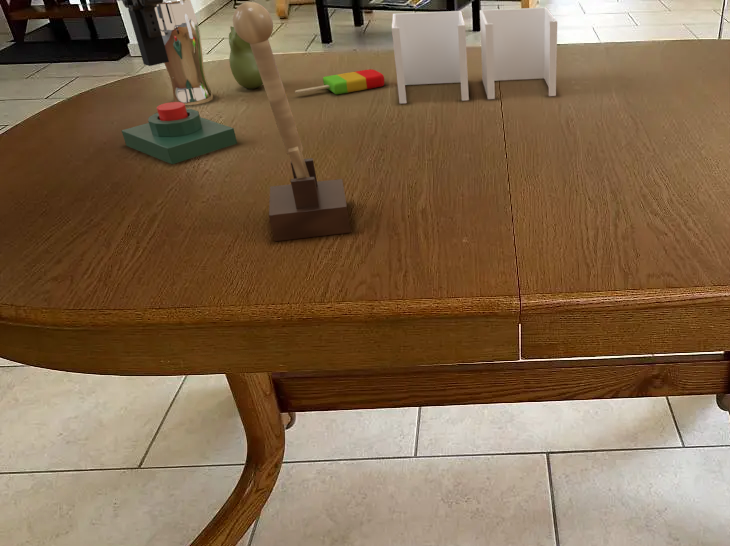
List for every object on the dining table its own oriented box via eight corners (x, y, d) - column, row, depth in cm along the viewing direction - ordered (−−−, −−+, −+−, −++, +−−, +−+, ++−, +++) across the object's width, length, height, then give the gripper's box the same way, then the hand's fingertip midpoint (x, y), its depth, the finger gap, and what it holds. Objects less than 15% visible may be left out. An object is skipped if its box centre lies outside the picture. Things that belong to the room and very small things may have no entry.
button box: (126, 146, 104) (116, 117, 101) (190, 127, 110) (182, 99, 107) (172, 164, 97) (163, 134, 95) (237, 143, 103) (230, 114, 101)
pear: (259, 81, 129) (246, 18, 123) (275, 87, 126) (263, 23, 120) (230, 88, 126) (215, 24, 120) (246, 94, 123) (231, 29, 117)
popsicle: (387, 86, 125) (386, 74, 124) (301, 101, 119) (299, 89, 118) (374, 79, 129) (373, 67, 128) (290, 93, 123) (288, 81, 122)
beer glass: (194, 92, 124) (167, -8, 115) (225, 96, 122) (200, -5, 113) (162, 103, 119) (131, 0, 110) (194, 108, 117) (165, 3, 108)
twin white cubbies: (545, 77, 128) (546, 7, 121) (555, 95, 119) (557, 21, 112) (400, 84, 126) (392, 13, 119) (399, 103, 117) (391, 28, 110)
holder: (274, 241, 79) (262, 187, 75) (275, 211, 85) (264, 160, 81) (350, 232, 80) (342, 179, 76) (346, 203, 86) (338, 152, 83)
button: (155, 119, 101) (151, 106, 100) (179, 113, 103) (175, 100, 102) (169, 124, 99) (165, 111, 98) (193, 117, 101) (189, 104, 100)
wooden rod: (225, 10, 67) (265, 2, 67) (228, 2, 70) (266, -5, 70) (289, 194, 78) (323, 187, 79) (289, 182, 81) (321, 174, 81)
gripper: (156, -162, 82) (209, 64, 96) (98, -161, 88) (156, 50, 103) (89, -161, 77) (156, 77, 91) (34, -160, 84) (104, 61, 98)
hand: (156, 62), depth 97 cm, fingers closed
